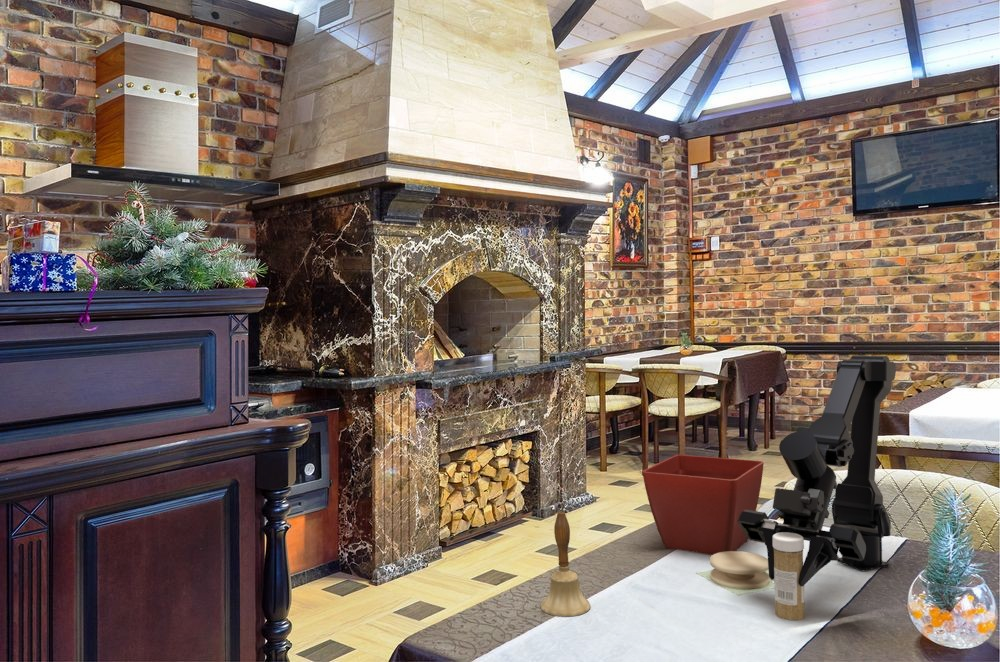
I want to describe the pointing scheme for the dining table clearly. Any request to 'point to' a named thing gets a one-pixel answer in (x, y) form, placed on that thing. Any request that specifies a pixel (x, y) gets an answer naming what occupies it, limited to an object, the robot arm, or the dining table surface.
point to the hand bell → (564, 579)
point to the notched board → (739, 591)
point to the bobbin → (739, 570)
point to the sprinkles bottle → (788, 575)
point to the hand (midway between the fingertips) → (785, 581)
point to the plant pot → (702, 501)
